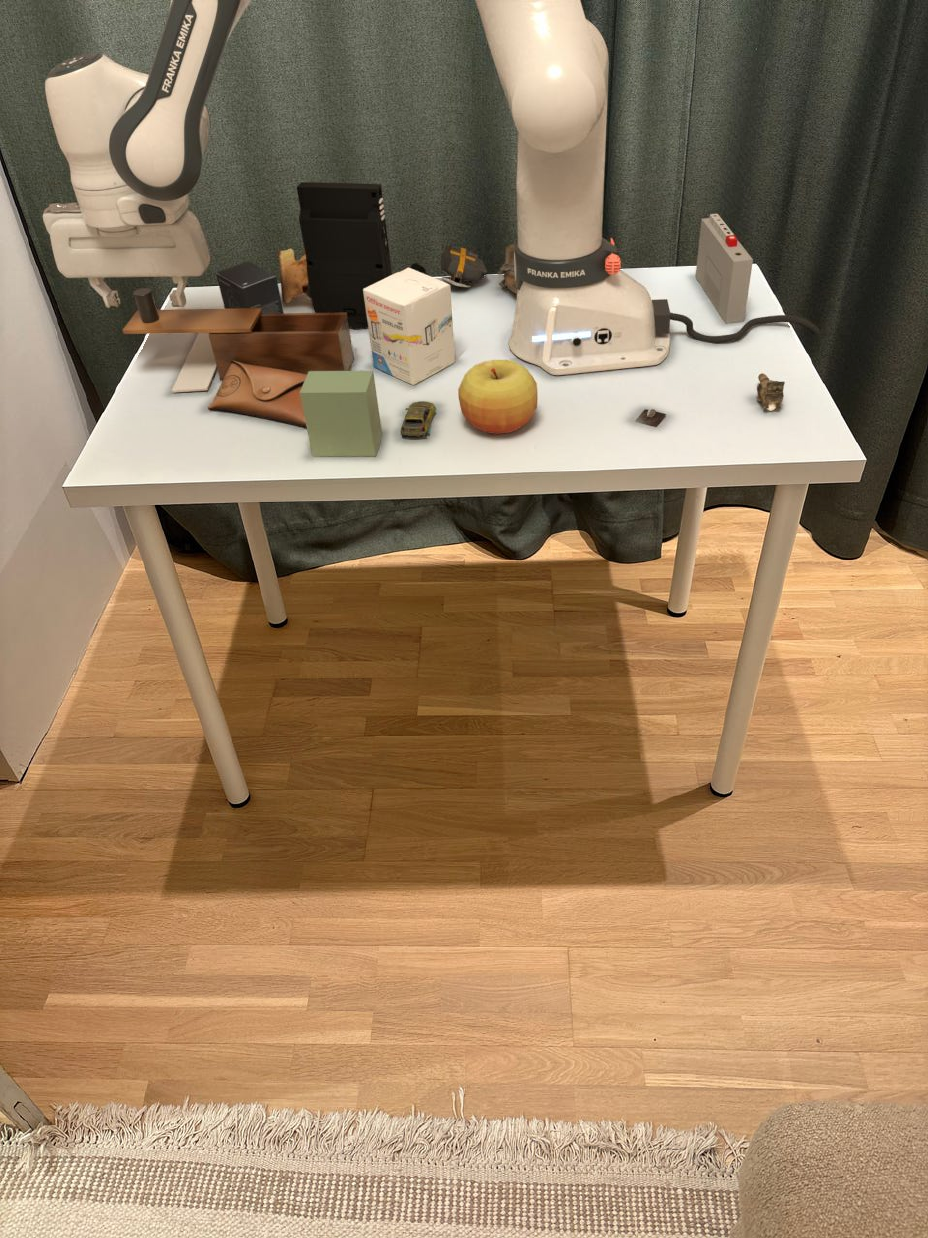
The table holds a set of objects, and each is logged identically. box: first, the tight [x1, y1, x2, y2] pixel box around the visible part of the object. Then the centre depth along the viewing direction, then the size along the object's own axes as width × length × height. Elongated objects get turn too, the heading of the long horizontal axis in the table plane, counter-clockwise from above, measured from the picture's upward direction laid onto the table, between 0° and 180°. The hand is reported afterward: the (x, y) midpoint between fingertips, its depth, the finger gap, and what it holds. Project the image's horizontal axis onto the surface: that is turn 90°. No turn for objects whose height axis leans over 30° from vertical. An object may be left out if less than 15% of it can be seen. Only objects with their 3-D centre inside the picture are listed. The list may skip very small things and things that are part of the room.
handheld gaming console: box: [296, 181, 393, 330], centre depth 137 cm, size 12×5×20 cm, turn 76°
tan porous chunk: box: [278, 244, 311, 305], centre depth 149 cm, size 12×10×8 cm
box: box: [215, 260, 284, 314], centre depth 138 cm, size 8×6×11 cm
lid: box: [122, 287, 262, 335], centre depth 130 cm, size 18×6×5 cm, turn 84°
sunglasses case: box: [207, 361, 307, 428], centre depth 127 cm, size 18×7×7 cm
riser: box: [300, 370, 383, 457], centre depth 117 cm, size 8×5×9 cm, turn 84°
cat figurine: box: [756, 372, 786, 412], centre depth 120 cm, size 3×8×4 cm, turn 0°
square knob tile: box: [634, 408, 667, 428], centre depth 119 cm, size 3×3×1 cm
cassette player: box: [694, 213, 754, 324], centre depth 139 cm, size 16×3×10 cm, turn 6°
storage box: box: [208, 312, 355, 382], centre depth 133 cm, size 18×6×7 cm, turn 84°
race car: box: [400, 400, 437, 440], centre depth 122 cm, size 4×8×2 cm, turn 171°
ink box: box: [363, 267, 456, 386], centre depth 130 cm, size 9×8×12 cm
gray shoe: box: [439, 245, 489, 288], centre depth 153 cm, size 7×15×4 cm, turn 176°
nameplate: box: [171, 333, 218, 393], centre depth 140 cm, size 22×1×5 cm
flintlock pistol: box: [496, 244, 517, 295], centre depth 150 cm, size 19×4×10 cm
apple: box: [458, 359, 539, 435], centre depth 119 cm, size 10×10×8 cm
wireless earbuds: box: [398, 262, 430, 276], centre depth 153 cm, size 7×2×5 cm
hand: (146, 305), depth 131 cm, fingers open, 8 cm apart
